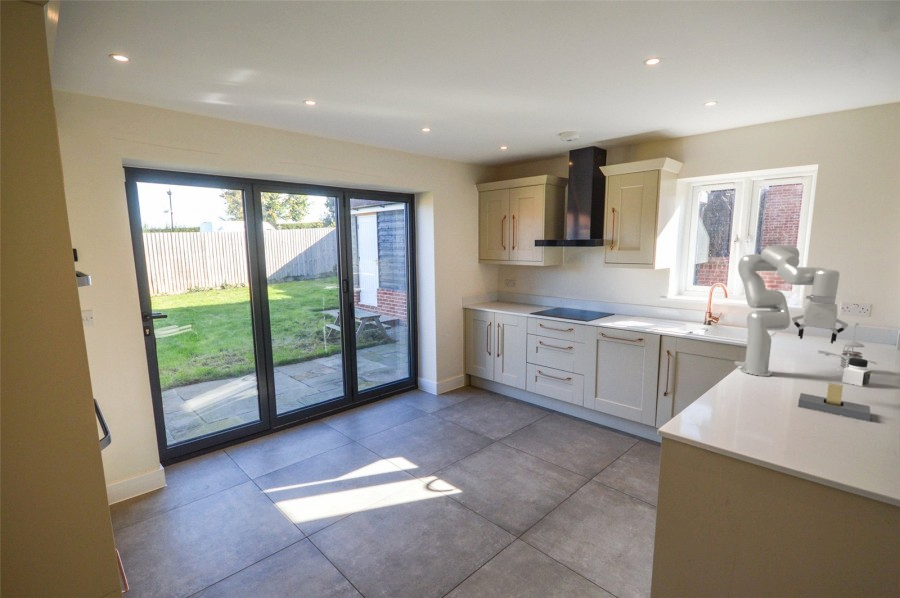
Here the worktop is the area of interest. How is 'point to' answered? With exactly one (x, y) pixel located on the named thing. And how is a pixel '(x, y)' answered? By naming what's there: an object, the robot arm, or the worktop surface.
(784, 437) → the worktop surface
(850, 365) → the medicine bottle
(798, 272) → the robot arm
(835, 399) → the brass peg
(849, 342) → the french press
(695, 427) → the worktop surface
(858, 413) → the grey socket block
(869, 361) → the adjustable wrench
